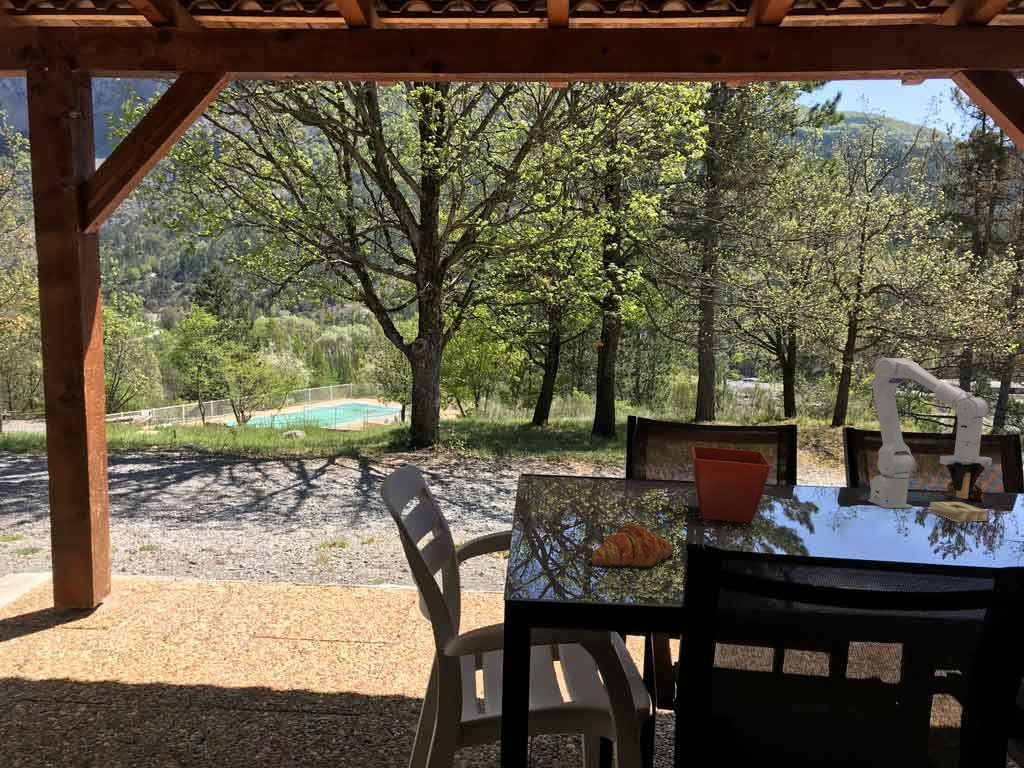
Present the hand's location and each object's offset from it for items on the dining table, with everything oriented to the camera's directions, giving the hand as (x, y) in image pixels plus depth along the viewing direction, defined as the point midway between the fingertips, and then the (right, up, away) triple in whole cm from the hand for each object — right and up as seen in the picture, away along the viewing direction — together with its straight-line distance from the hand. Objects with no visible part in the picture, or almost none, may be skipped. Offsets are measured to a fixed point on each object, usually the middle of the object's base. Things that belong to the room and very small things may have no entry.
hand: (962, 490), depth 206 cm
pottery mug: (+19, -8, +31) cm, 37 cm away
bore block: (+3, -9, +8) cm, 12 cm away
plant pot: (-66, -7, -2) cm, 66 cm away
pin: (0, -2, 0) cm, 2 cm away
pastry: (-98, -10, -42) cm, 107 cm away
